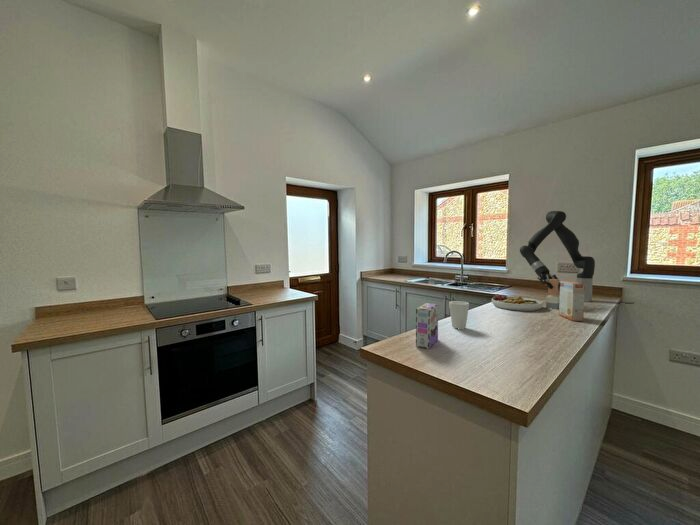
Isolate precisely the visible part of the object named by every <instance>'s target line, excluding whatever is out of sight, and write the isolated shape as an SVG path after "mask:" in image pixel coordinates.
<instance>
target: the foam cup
mask: <svg viewBox="0 0 700 525" xmlns="http://www.w3.org/2000/svg"><path fill="white" fill-rule="evenodd" d="M448 303H449V304H448V307H449V314H450V319H451V327H454V328H459V329H463V330H465V329H466V328H467V320H468V316H469V308H470V303H469V302H468V301H462V300H452V301H448ZM454 328H453V329H454ZM464 328H465V329H464ZM459 329H458V330H459Z"/></svg>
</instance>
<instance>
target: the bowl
mask: <svg viewBox="0 0 700 525" xmlns="http://www.w3.org/2000/svg"><path fill="white" fill-rule="evenodd" d="M491 304H493V306H495V307H496V308H499V309H502V308H503V309H502V310H507V309H509V310H508V311H515V310H517V312H534V311H538V310H540V309H541V308H542V307H543V305H544V302H543V301H542V300H539V299H536V298H535V299H534V298H529V297H521V295H519V296H506V295H505V294H500V293H499V294H498V293H497V294H494V295H493V297H492V298H491Z"/></svg>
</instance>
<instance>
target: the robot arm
mask: <svg viewBox="0 0 700 525" xmlns="http://www.w3.org/2000/svg"><path fill="white" fill-rule="evenodd" d="M566 219H567V214H566V212H565V211H562V210H552V211H549V212H547V213H546V216H545V221H546V222H547V225H545V226H544V227H543V228H541V229H540V230H538V231H537V232H535V233H534V234H533V236H531V237H530V239H529V240H528V242H527V243H528V244H527V245H522V246H521V247H520V248H519V253H520V255H521V256H522V257H523V258H524V259H525V260H526V261H527V263H528V264H529V266H530V267H531V269H532V270H533V271H534V273H535V274H536V275H537V277H536V278H537V279H538V280H539V282H541V283H542V284H543V285H545V286H547V288H548V287H549V288H550V289H552V288H553V286H552V285H551V283H549V279H559V278H558V277H557V275H556V274H551V271H550V270H549V268H548V266H546V264H544V262H542V260H540V258H539V257H538V256H537V255H536V254H535V252H536V250H537V248H538V247H539V246H540V245H541V243H542V242H543V241H544V240H545V239H546V238H547V237H548V236H549V235H550V234H551V233H552V232H555V233H556V236H557V237H558V238H559V240H560V242H561V244H562V245H563V246H564V247H565V249H566V251H567V253H568V254H569V256H570V258H571V260H572V262H573V265H574V266H575V267H576V268H578V269H582V271H581V272H579V273H577V274H576V282H578V283H582V284H585V290H584V303H590V302H593V279H594V278H593V277H594V274H595V269H596V268H595V267H596V261H595V258H594V257H592V256H588V255H587V256H584V255H583V254H581V253H580V251H579V247H580V241H579V239H578V237H577V236H576V234H575V233H574V232H573V231H572V230H571V229H570V228H568V227H567V226H566V225H565V224H564V222H565V221H566ZM558 290H560V283H559V284H558Z"/></svg>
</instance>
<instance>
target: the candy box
mask: <svg viewBox="0 0 700 525" xmlns="http://www.w3.org/2000/svg"><path fill="white" fill-rule="evenodd" d="M438 340H439V304H438V303H430V302H429V303H427V302H425V303H424V304H422V305H421V306H418V307H417V308H415V347H416V348H417V347H418V348H423V349H426V350H427V349H430V348H432V346H434V344H435V343H437V341H438Z"/></svg>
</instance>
